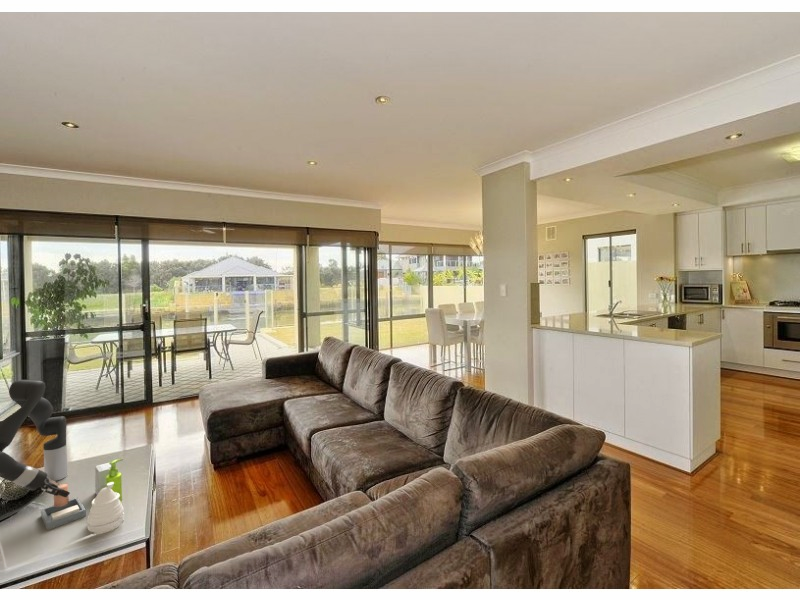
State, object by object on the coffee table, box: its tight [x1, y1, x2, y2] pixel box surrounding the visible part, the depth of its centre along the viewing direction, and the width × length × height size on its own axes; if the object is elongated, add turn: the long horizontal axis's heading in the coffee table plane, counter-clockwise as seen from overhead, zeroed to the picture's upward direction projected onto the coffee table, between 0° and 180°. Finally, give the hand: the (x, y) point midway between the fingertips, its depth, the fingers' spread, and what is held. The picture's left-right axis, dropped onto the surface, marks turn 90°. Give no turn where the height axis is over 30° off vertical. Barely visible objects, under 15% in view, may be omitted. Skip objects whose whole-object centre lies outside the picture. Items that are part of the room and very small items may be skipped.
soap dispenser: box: [106, 458, 124, 502], centre depth 187 cm, size 6×7×20 cm
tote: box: [40, 496, 87, 531], centre depth 174 cm, size 15×13×4 cm
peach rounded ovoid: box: [53, 483, 70, 507], centre depth 175 cm, size 5×5×8 cm
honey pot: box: [86, 482, 125, 535], centre depth 169 cm, size 13×13×18 cm
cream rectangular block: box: [51, 505, 79, 521], centre depth 171 cm, size 4×9×4 cm, turn 141°
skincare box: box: [94, 462, 111, 496], centre depth 192 cm, size 8×6×15 cm
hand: (66, 492), depth 177 cm, fingers closed on peach rounded ovoid, 5 cm apart
